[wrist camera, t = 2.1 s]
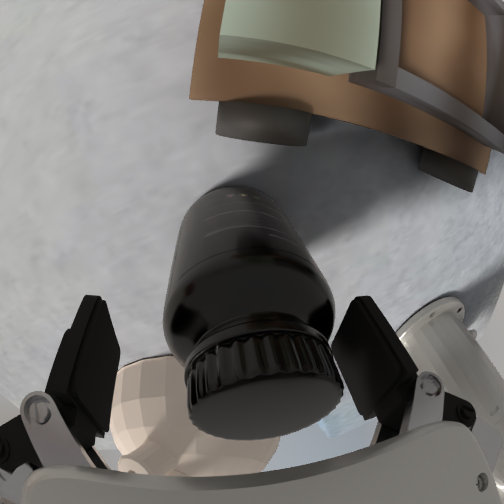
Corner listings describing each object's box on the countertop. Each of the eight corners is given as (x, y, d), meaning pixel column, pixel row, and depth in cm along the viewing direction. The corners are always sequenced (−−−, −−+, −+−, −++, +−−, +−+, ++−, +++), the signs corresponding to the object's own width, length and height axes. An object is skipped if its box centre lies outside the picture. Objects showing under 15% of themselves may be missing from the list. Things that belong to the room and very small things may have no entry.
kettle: (240, 324, 22) (280, 556, 6) (296, 413, 32) (326, 527, 17) (73, 370, 23) (45, 515, 8) (171, 439, 34) (175, 538, 18)
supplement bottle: (278, 279, 20) (331, 438, 9) (181, 277, 18) (167, 450, 8) (295, 186, 16) (413, 332, 6) (180, 179, 15) (123, 346, 5)
